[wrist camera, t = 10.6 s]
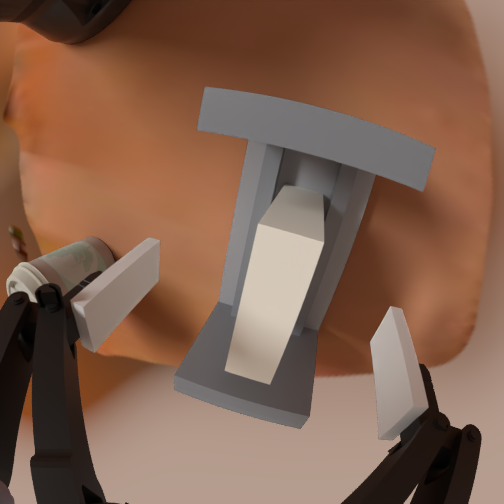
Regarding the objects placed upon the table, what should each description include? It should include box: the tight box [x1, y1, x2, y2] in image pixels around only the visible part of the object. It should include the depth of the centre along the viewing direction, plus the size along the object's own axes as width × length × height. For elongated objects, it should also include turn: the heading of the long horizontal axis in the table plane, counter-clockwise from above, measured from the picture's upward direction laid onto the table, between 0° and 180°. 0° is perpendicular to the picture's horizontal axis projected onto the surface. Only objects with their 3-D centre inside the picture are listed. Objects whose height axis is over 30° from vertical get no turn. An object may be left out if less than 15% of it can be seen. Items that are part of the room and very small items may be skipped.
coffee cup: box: [7, 237, 115, 303], centre depth 25 cm, size 9×9×12 cm
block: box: [225, 183, 324, 385], centre depth 19 cm, size 10×3×10 cm, turn 168°
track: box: [174, 87, 436, 429], centre depth 19 cm, size 20×10×11 cm, turn 168°
